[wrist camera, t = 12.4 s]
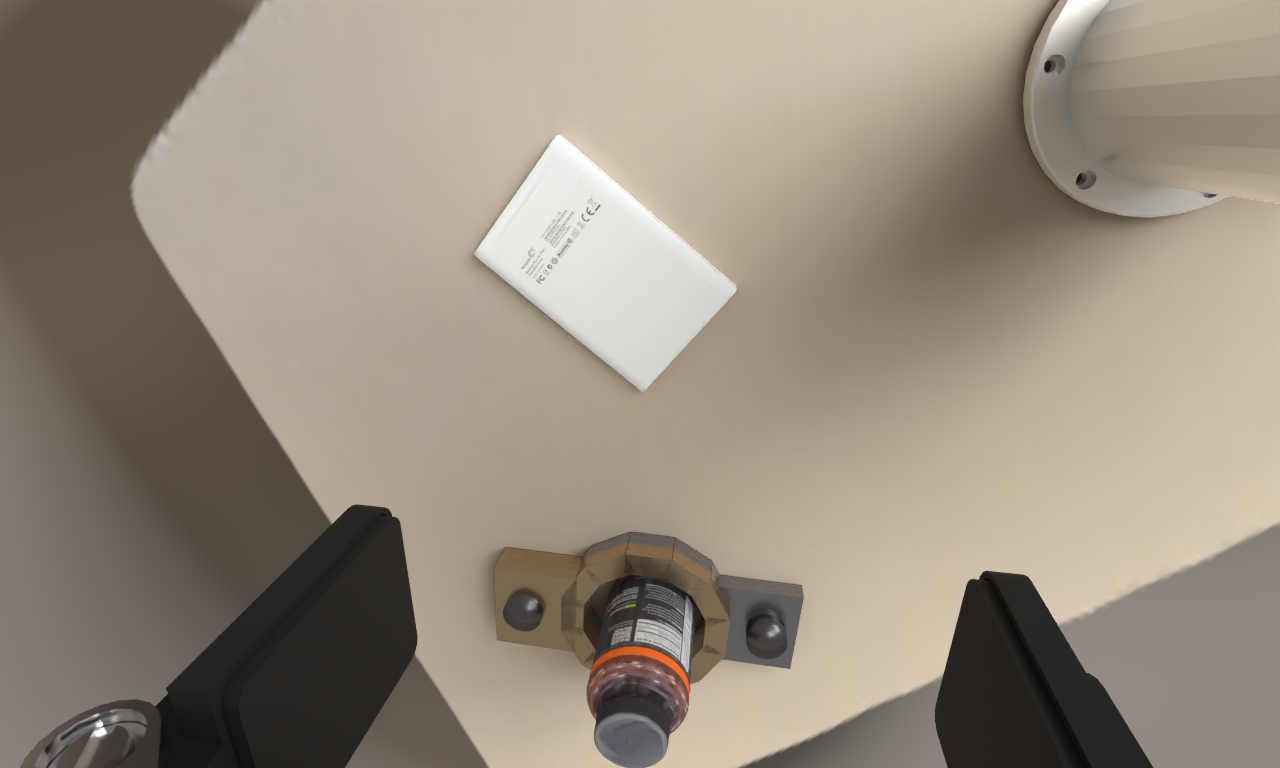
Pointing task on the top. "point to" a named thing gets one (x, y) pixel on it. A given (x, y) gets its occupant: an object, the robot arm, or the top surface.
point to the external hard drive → (603, 265)
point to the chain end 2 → (735, 607)
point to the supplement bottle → (641, 670)
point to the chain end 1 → (558, 592)
